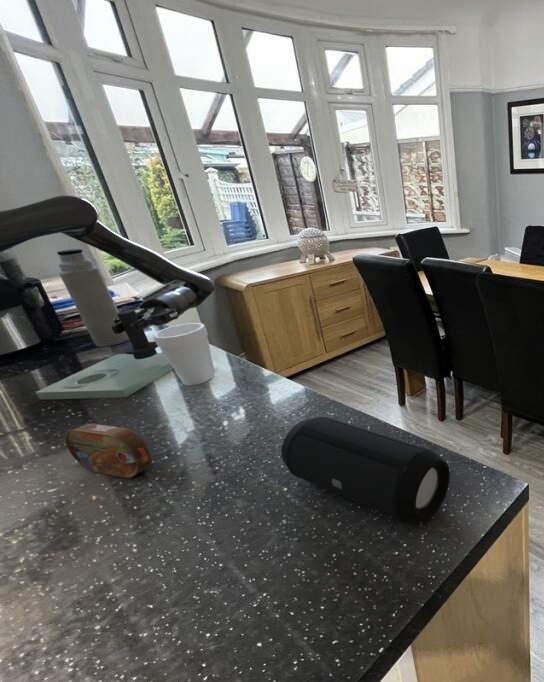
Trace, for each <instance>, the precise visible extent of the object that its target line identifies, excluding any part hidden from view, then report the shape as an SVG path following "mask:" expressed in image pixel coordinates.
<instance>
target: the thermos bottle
mask: <svg viewBox="0 0 544 682" xmlns="http://www.w3.org/2000/svg"><path fill="white" fill-rule="evenodd" d="M83 252H84V250H83V249H81V248H73V249H64V250H59V251H56V253H57V255H58V256H59V259H60V262H59V263H58V267H59V269H60V271H59V272H58V275H59V277H60V278H61V281H62V282H63V284H64V286H65V288H66V290H67V293H68V295H69V296H70V298H71V300H72V303H73V304H74V306H75V308H76V310H77V312H78V314H79V316H80V318H81V320H82V322H83V324H84V326H85V328H86V330H87V332H88V334H89V336H90V337H91V339H92V342H93V344H94V346H95V347H98V348H101V347H102V348H103V347H110V346H117V345H119V344H122V343H124V342H127V341H130V340H129V338H128V336H127V334H126V332H125V331H124V332H122V333H120V334H115V333H114V332H113V330H112V328H111V327H112V326H113V325H115V323H114V321H113V320H114V318H115V317H116V316H117V313H119V312H120V311H119V309H118V307H117V305H116V302H115V301H114V299H113V296H112V295H111V292H110V290H109V288H108V286H107V284H106V281H105V280H104V278H103V275H102V273H101V270H100V268H99V267H98V266H95V265H94V262H93V261H92V259H89V258H87V257H86V256H85V254H84V253H83Z"/></svg>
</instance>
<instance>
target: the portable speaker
mask: <svg viewBox="0 0 544 682" xmlns="http://www.w3.org/2000/svg"><path fill="white" fill-rule="evenodd" d="M280 451H281V459H282V461H283V463H284V465H285V466H286V468H287V469H288V471H289V472H290V474H292V475H293V476H294V477H296V478H298V479H302V480H304V481H306V482H309V483H311V484H313V485H316V486H319V487H321V488H323V489H326V490H328V491H330V492H333V493H335V494H337V495H339V496H342V497H345V498H347V499H349V500H351V501H353V502H357V503H359V504H361V505H362V506H363V505H364V506H366V507H368V508H370V509H373V510H375V511H377V512H380V513H381V514H385V515H386V516H389V517H392V518H394V519H396V520H399V521H400V522H402V523H418V522H420V523H421V522H425V521H428V520H430V519H431V518H432V517H434V516H435V514H436V513H437V512H438V511H439V509H440V507H441V506H442V504H443V502H444V500H445V498H446V496H447V493H448V490H449V489H448V488H449V485H450V480H451V478H450V477H451V473H450V472H451V471H450V467H449V465H448V463H447V462H446V460H444V459H443V458H442V457H441V456H440V455H439V454H438V453H436V452H435V451H434V450H432V449H430V448H426V447H424V446H421V445H418V444H413V443H411V442H408V441H405V440H401V439H398V438H395V437H392V436H389V435H386V434H383V433H380V432H376V431H373V430H371V429H367V428H363V427H361V426H359V425H358V426H357V425H354V424H351V423H348V422H344V421H342V420H338V419H336V418H332V417H326V416H317V417H311V418H306V419H303V420H301V421H298V423H296V424H295V425H294V426H293V427H292V428H290V429H289V431H288V433H287V434H286V436H285V437H284V439H283V441H282V445H281V450H280Z"/></svg>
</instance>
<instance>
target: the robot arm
mask: <svg viewBox="0 0 544 682" xmlns="http://www.w3.org/2000/svg"><path fill="white" fill-rule="evenodd" d="M55 234H63V235H65V236H67V237H70V238H72V239H74V240H77V241H79V242H81V243H84V244H86V245H88V246H91V247H93V248H95V249H96V250H97V249H98V250H99V251H101V252H103V253H105V254H107V255H109V256H111V257H113V258H115V259H116V260H119V261H121V262H122V263H124V264H126V265H127V266H129V267H131V268H133V269H135V270H136V271H138V272H140V273H141V274H143V275H145V276H146V277H148V278H150V279H152V280H153V281H155V282H157V283H159V284H161V285H163V286H168V285H170V284H172V283H173V282H176V281H179V282H184V283H183V284H182V285H181V286H175V287H172V288H170V289H168V290H166V291H163V292H160V293H158V294H156V295H152V296H151V297H149V298H147V299H145V300H144V301H142V302H141V303H140V305H139V308H138V309H136V310H135V313H136V315H137V317H138V319H139V320H137V321H135V322H133V323H132V324H130V327H131V329H132V331H133V332H139V331H140V330H142V329H143V330H144V329H146V328H151V327H152V326H155V327H159V326H163V325H167V324H169V323H171V322H172V321H174V320H177V319H179V317H181V316H182V315H183V314H184V313H186V312H187V311H189V310H190V309H195V308H197V307H199V306H200V305H201V304H202V303H204V302H205V301H206V300H207V299H208V297H209V296H211V294H213V293H214V291H215V290H216V286H215V285H216V284H214V282H213V280H211V279H210V278H209V277H207V276H206V275H203V274H202V273H198V272H195V271H192V270H190V269H187V268H184V267H182V266H179V265H178V264H176V263H173V262H172V261H170V260H169V259H167V258H165V257H164V256H162V255H161V254H159V253H157V252H156V251H153V250H152V249H149V248H147V247H145V246H143V245H141V244H138V243H136V242H133V241H131V240H129V239H127V238H126V237H125V238H124V236H121V235H119V234H117V233H115V232H114V231H112V230H111V229H110V228H109V227H107V226H105V225H104V224H103V223H102V222H100V220H99V213H98V211H97V209H96V207H95V206H94V205H93V204H92V203H91V202H89V201H88V200H86V199H84V198H82V197H79V196H75V195H67V194H66V195H56V196H53V197H50V198H46V199H43V200H40V201H36V202H32V203H29V204H26V205H23V206H19V207H15V208H11V209H4V210H0V254H1V253H3V252H5V251H7V250H10V249H12V248H14V247H15V248H16V247H17V246H19V245H22V244H23V243H26V242H28V241H31V240H33V239H37V238H40V237H45V236H48V235H50V236H51V235H55ZM113 321H114V323H115V325H113V326H112V327H111V328H112V330H113V332H114V333H115V334H120V333H122V332H124V331H125V330H124V327H123V325H122V323H121V321H120V319H119V317H118V315H117V316H116V317H115V318H114V320H113Z"/></svg>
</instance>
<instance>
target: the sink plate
mask: <svg viewBox="0 0 544 682" xmlns="http://www.w3.org/2000/svg"><path fill="white" fill-rule="evenodd" d="M171 371H174V369H173V367H172V365H171V364H170V362H169V361H168V359H167V358H166V356H165V355H164V353H163V352H157V354H155V355H154V356H151V357H148V358H145V359H135V358H134V356H133V354H126V353H116V354H114V355H112V356H110V357H108V358H106V359H104V360H101V361H99V362H97V363H94V364H93V365H91V366H88V367H86V368H84V369H82V370H80V371H78V372H76V373H74V374H71V375H69V376H66V377H65V378H63V379H61V380H59V381H57V382H54V383H52V384H49V385H48V386H45V387H43V388H42V389H40V390H37V391H35V394H36V396H37V397H38V399H39V400H40V401H42V400H78V399H84V400H85V399H118V398H121V399H122V398H128V397H129V396H131V395H132V394H134V393H136V392H137V391H139V390H141V389H143V388H144V387H147V386H148V385H150V384H151V383H153V382H154V381H156V380H158V379H159V378H161V377H163V376H165V375H166V374H168V373H170V372H171Z"/></svg>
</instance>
